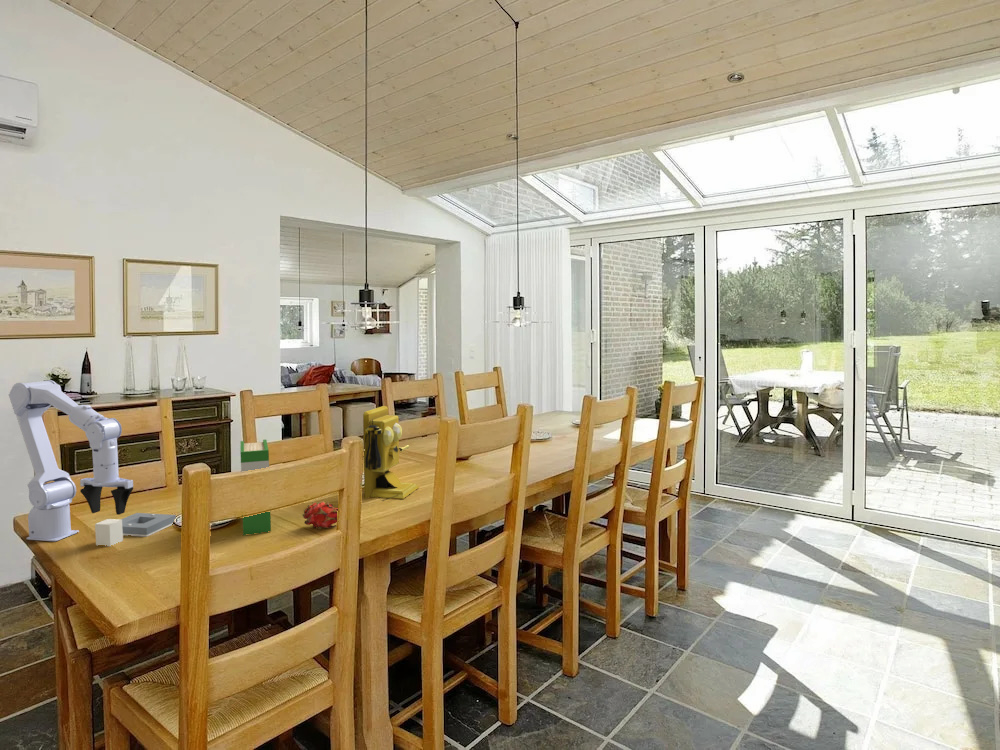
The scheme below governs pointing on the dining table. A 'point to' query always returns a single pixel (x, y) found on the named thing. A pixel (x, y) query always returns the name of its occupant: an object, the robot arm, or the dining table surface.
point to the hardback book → (251, 460)
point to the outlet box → (146, 523)
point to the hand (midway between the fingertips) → (108, 512)
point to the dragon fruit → (320, 515)
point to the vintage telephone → (383, 455)
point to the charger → (109, 532)
